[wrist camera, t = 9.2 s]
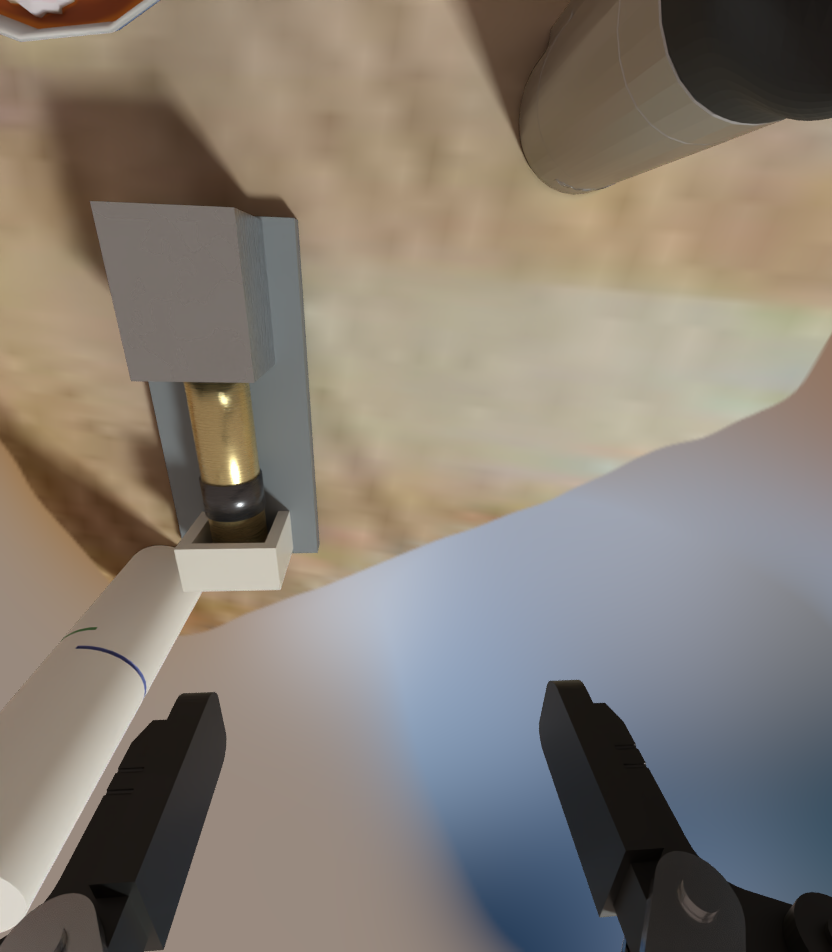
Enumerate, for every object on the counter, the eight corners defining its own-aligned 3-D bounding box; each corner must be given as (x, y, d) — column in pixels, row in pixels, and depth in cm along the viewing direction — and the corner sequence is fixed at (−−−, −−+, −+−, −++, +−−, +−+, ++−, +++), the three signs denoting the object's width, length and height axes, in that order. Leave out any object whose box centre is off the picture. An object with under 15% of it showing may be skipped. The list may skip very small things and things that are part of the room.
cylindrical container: (203, 609, 46) (34, 939, 23) (128, 599, 45) (-127, 938, 22) (207, 551, 43) (18, 863, 21) (127, 539, 42) (-167, 856, 19)
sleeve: (146, 215, 30) (89, 201, 24) (261, 219, 31) (234, 207, 25) (174, 362, 34) (130, 381, 28) (275, 364, 35) (254, 383, 29)
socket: (201, 511, 40) (173, 549, 34) (289, 510, 40) (275, 548, 35) (209, 549, 41) (183, 591, 36) (293, 548, 42) (280, 589, 37)
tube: (187, 327, 34) (159, 335, 29) (252, 328, 34) (234, 336, 30) (222, 534, 41) (204, 565, 37) (275, 534, 41) (263, 564, 37)
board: (123, 212, 32) (111, 210, 30) (297, 220, 33) (294, 218, 31) (191, 545, 43) (185, 554, 41) (319, 544, 44) (317, 552, 42)
